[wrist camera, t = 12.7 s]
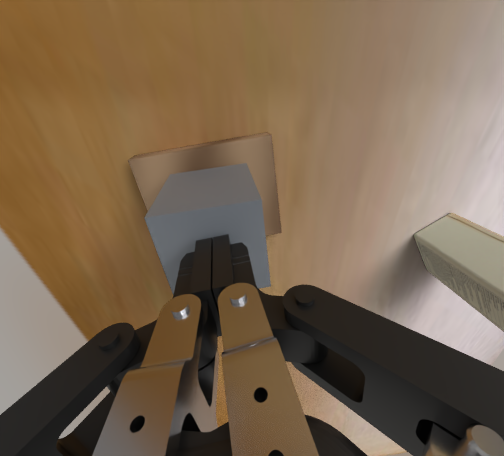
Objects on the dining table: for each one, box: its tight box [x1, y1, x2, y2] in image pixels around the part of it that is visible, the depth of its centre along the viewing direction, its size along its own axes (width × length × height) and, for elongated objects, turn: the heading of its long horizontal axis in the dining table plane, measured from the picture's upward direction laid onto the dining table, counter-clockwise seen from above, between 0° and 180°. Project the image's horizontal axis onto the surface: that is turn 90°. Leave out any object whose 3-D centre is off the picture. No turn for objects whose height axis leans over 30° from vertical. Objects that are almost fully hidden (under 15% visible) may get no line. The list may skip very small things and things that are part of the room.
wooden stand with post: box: [128, 132, 281, 236], centre depth 16 cm, size 10×8×9 cm
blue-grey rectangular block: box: [145, 163, 271, 295], centre depth 15 cm, size 5×5×7 cm
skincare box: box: [414, 213, 504, 332], centre depth 21 cm, size 6×4×12 cm
